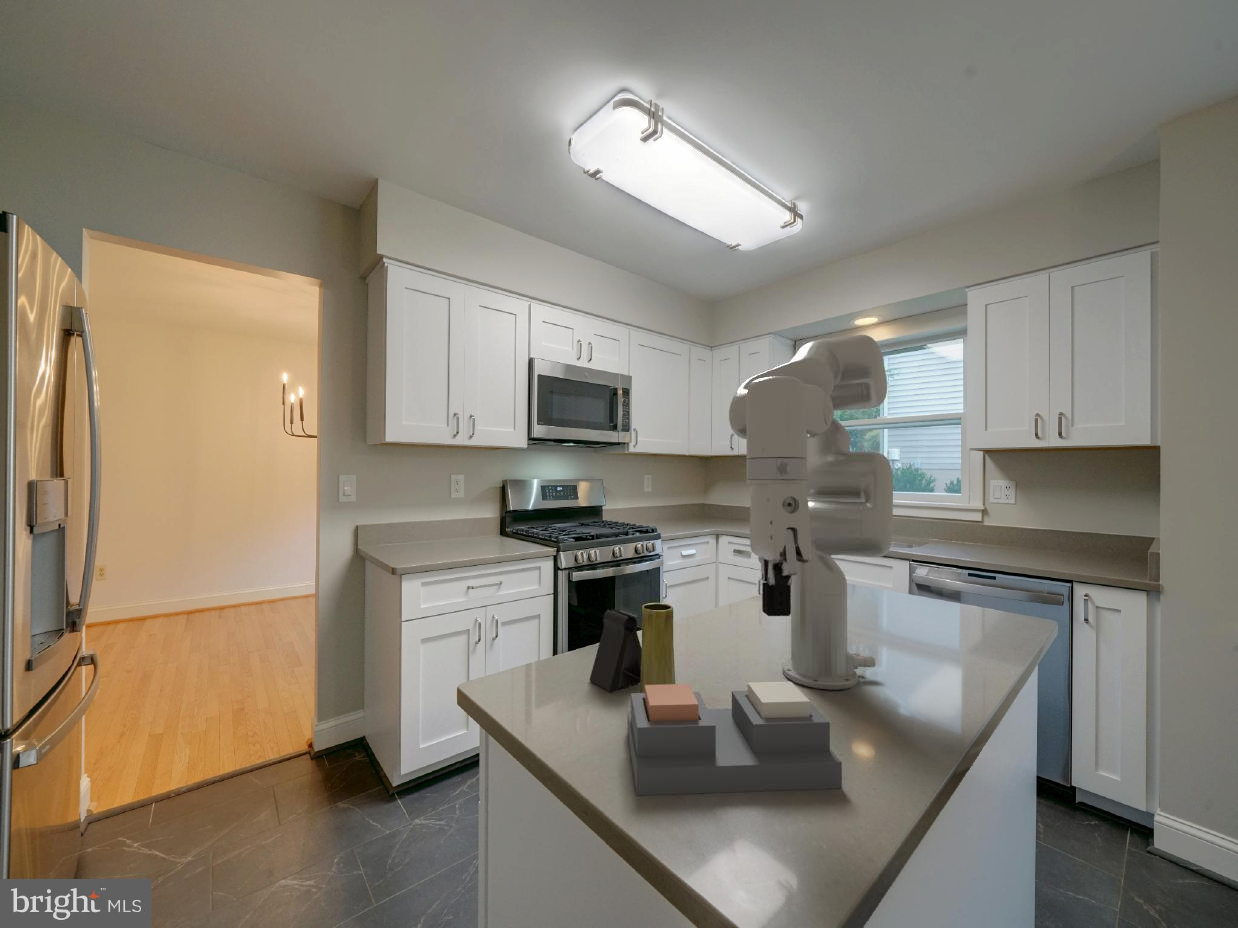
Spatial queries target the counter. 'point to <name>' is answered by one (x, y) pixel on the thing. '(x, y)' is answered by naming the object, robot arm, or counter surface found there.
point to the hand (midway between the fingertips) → (776, 613)
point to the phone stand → (617, 653)
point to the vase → (657, 645)
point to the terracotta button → (670, 703)
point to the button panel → (730, 751)
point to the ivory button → (778, 700)
